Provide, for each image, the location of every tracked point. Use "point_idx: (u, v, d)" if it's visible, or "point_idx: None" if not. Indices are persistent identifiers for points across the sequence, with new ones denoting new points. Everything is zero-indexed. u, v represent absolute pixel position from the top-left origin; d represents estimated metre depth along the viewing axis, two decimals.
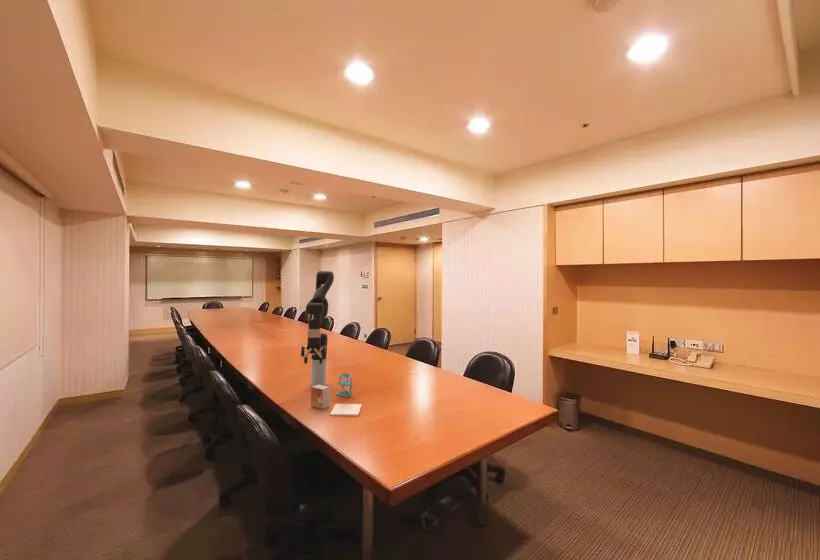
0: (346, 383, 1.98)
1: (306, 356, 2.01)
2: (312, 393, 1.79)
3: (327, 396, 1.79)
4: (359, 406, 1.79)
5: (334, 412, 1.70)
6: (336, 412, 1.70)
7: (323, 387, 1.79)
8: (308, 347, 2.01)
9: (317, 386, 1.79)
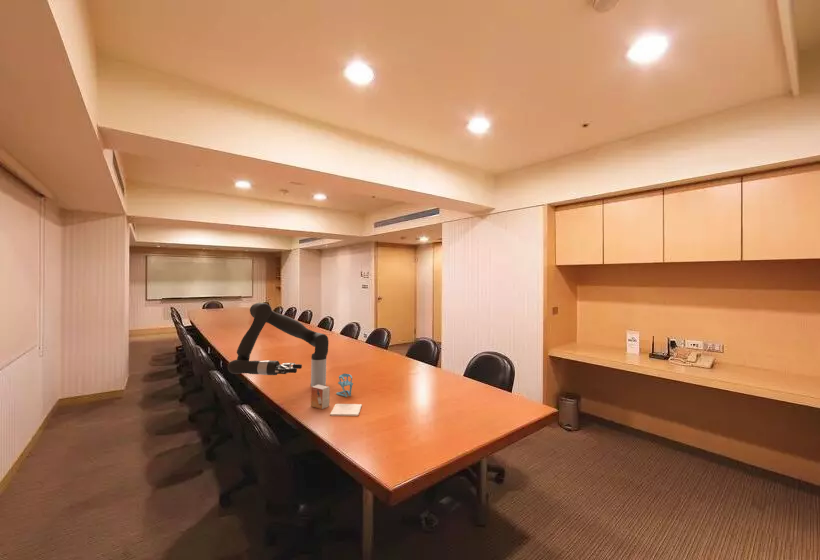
0: (346, 383, 1.98)
1: (293, 366, 1.84)
2: (312, 393, 1.79)
3: (327, 396, 1.79)
4: (359, 406, 1.79)
5: (334, 412, 1.70)
6: (336, 412, 1.70)
7: (323, 387, 1.79)
8: None
9: (317, 386, 1.79)
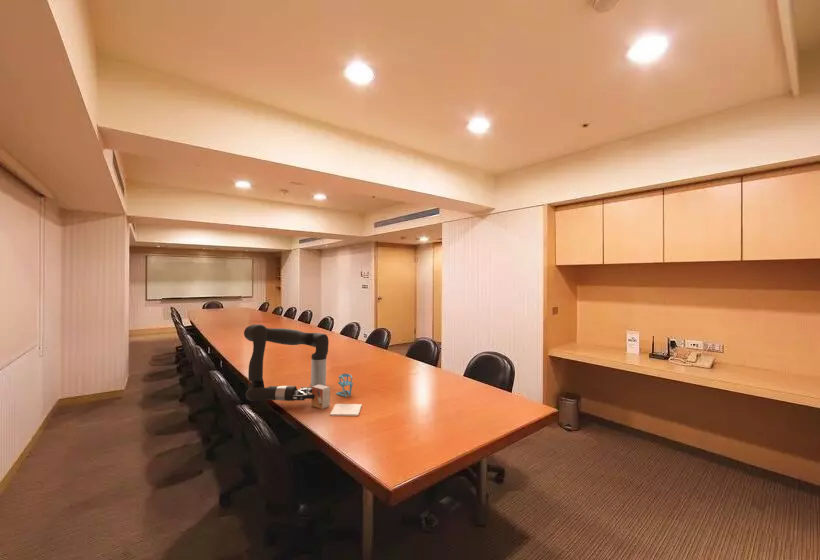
0: (346, 383, 1.98)
1: (310, 391, 1.84)
2: (312, 393, 1.79)
3: (327, 396, 1.79)
4: (359, 406, 1.79)
5: (334, 412, 1.70)
6: (336, 412, 1.70)
7: (323, 387, 1.79)
8: None
9: (317, 386, 1.79)
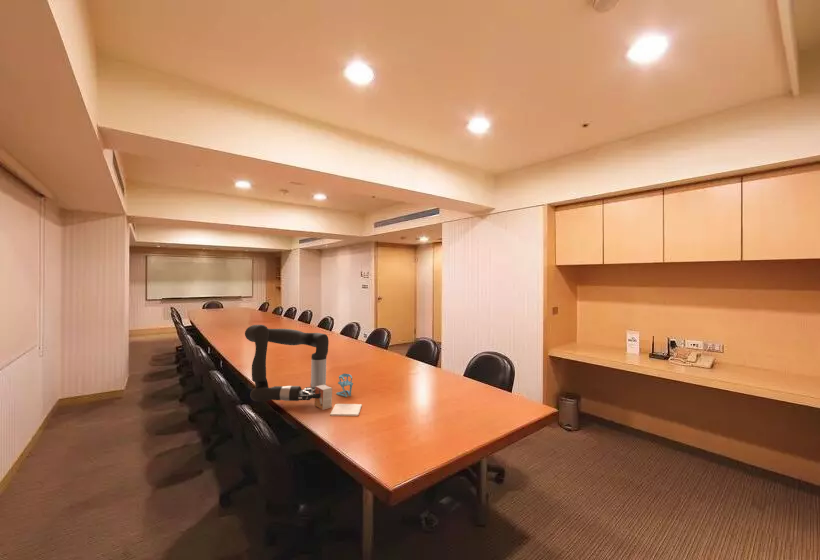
0: (346, 383, 1.98)
1: None
2: (315, 393, 1.80)
3: (328, 396, 1.77)
4: (359, 406, 1.79)
5: (334, 412, 1.70)
6: (336, 412, 1.70)
7: (325, 388, 1.78)
8: None
9: (320, 386, 1.79)
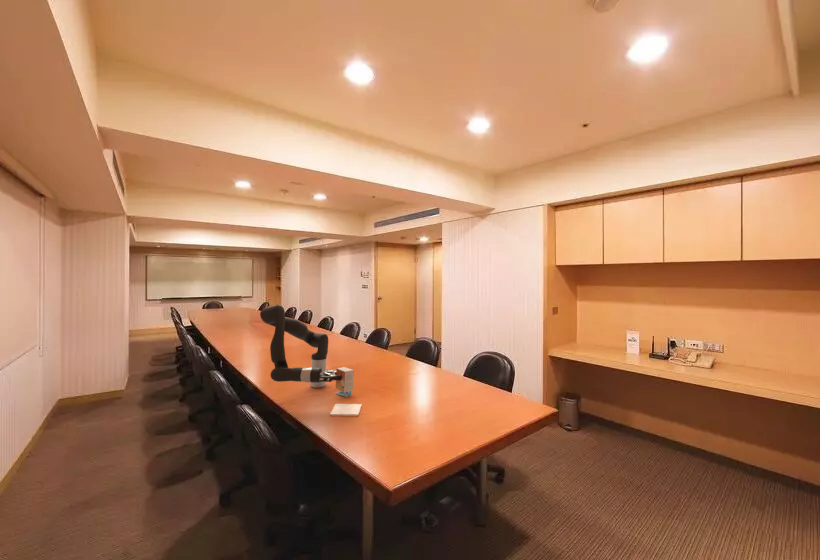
0: None
1: None
2: (337, 375, 1.75)
3: (350, 379, 1.72)
4: (359, 406, 1.79)
5: (334, 412, 1.70)
6: (336, 412, 1.70)
7: (347, 370, 1.73)
8: None
9: (342, 369, 1.74)
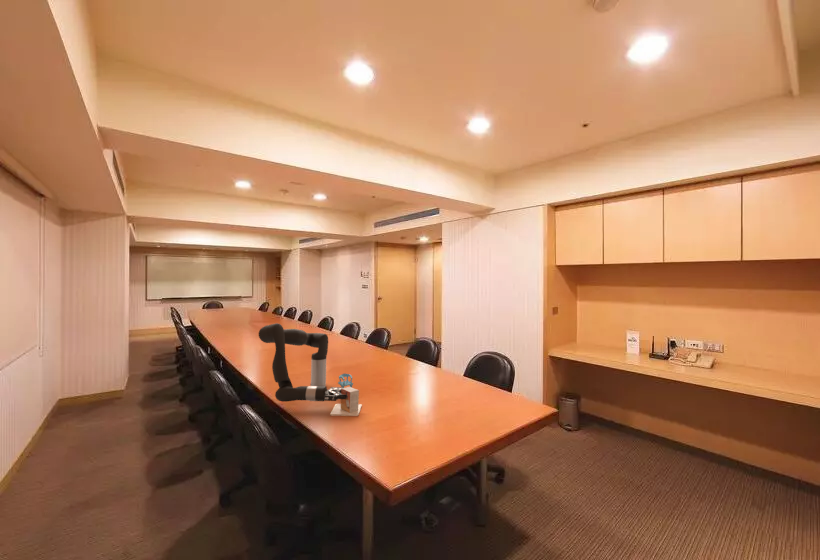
0: (346, 383, 1.98)
1: None
2: None
3: (355, 399, 1.72)
4: (359, 406, 1.79)
5: (334, 412, 1.70)
6: (336, 412, 1.70)
7: (352, 390, 1.73)
8: None
9: (346, 389, 1.74)
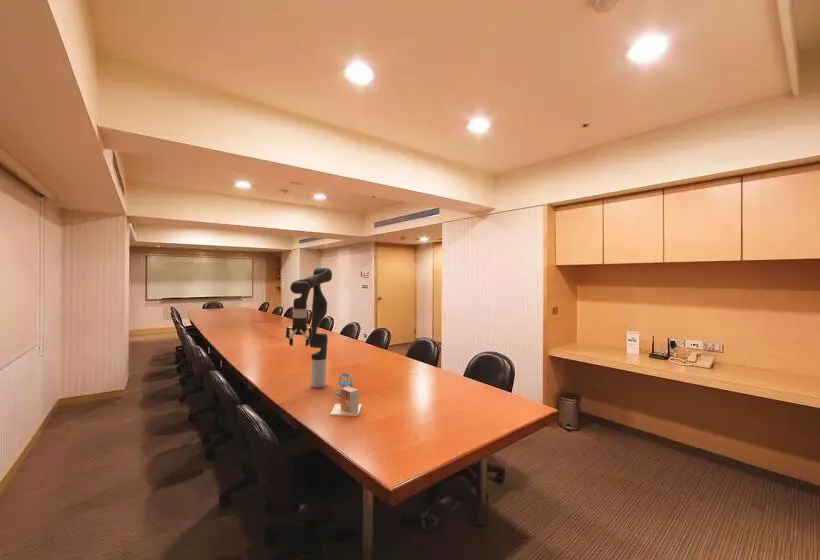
0: (346, 383, 1.98)
1: (291, 338, 1.90)
2: (342, 395, 1.74)
3: (355, 399, 1.72)
4: (359, 406, 1.79)
5: (334, 412, 1.70)
6: (336, 412, 1.70)
7: (352, 390, 1.73)
8: (293, 328, 1.89)
9: (346, 389, 1.74)
